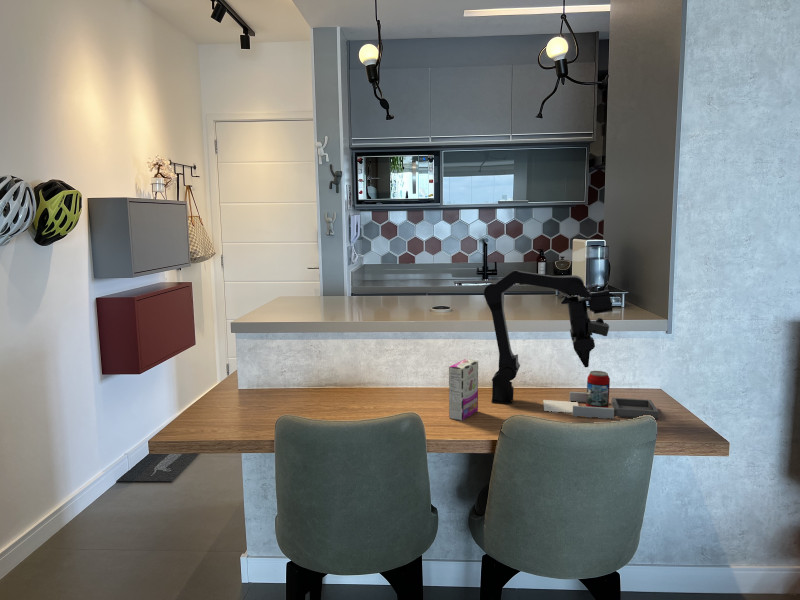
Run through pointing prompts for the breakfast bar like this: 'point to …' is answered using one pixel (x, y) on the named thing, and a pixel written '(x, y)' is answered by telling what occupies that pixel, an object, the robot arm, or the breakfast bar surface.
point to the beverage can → (598, 389)
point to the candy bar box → (463, 389)
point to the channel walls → (589, 411)
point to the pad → (559, 406)
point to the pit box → (633, 407)
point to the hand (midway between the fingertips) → (585, 362)
